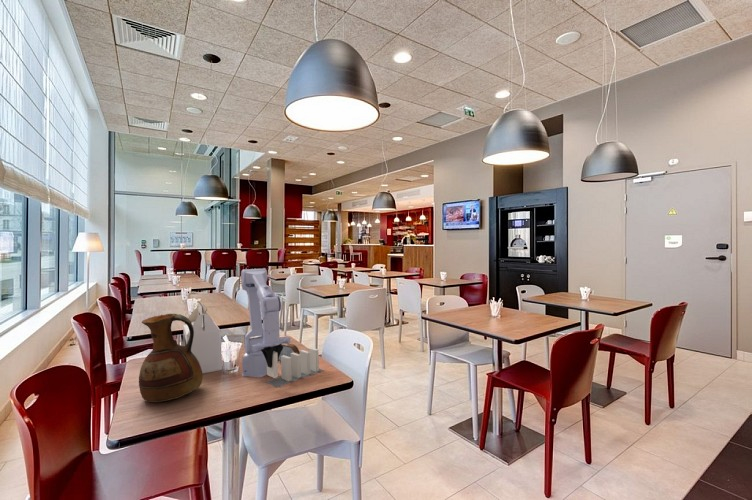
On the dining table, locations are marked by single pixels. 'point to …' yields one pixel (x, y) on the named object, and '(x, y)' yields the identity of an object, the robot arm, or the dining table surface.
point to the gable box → (204, 340)
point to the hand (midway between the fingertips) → (272, 366)
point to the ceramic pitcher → (168, 362)
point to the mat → (280, 381)
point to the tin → (288, 350)
